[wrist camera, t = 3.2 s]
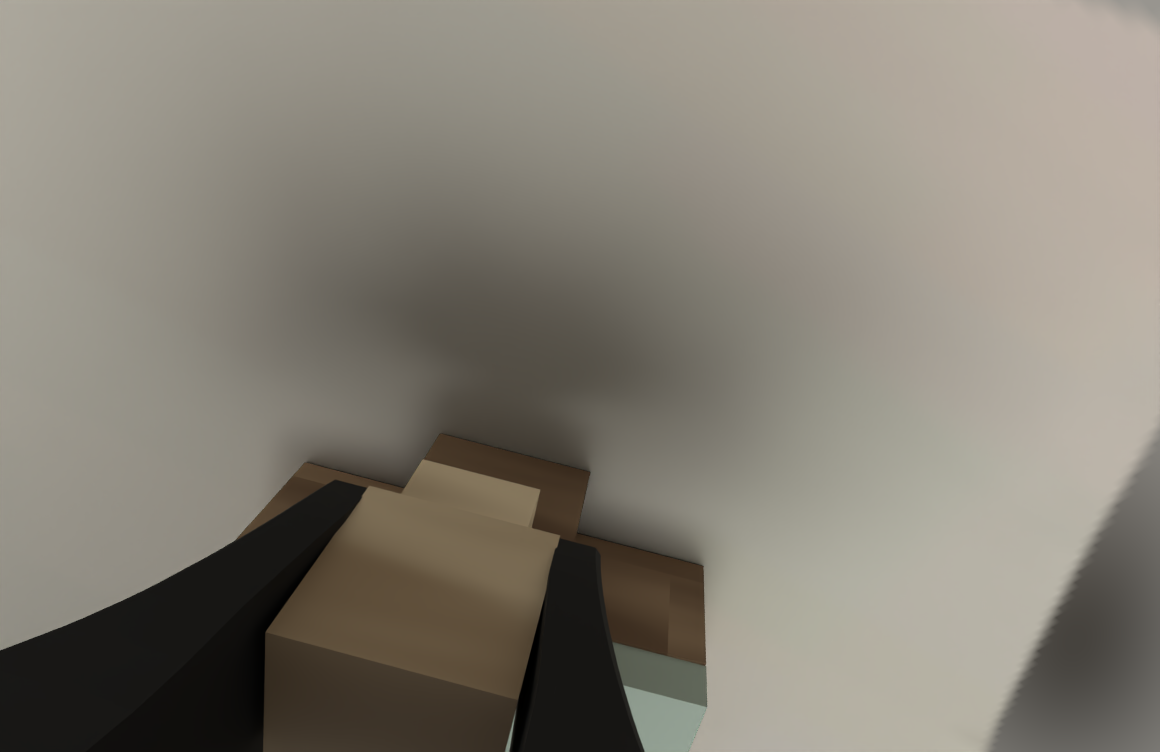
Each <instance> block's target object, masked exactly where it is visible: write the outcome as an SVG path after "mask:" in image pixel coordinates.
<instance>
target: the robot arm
mask: <svg viewBox="0 0 1160 752" xmlns="http://www.w3.org/2000/svg"><path fill="white" fill-rule="evenodd" d="M366 490H367V488H366V487H362V486H358V485H354V484H351V483H347V482H343V481H339V480H333V481H332V482H330V483H328V484H326V485H325V486H323V487H321V488H320V489H318V490H316V491H315V492H313V493H312V494H310V495H309V496H307V497H305V498H304V499H302V500H301V501H299V502H297V503H296V504H294V505H293V506H291V507H290V508H288V509H286V510H285V511H283V512H282V513H280V514H278V515H277V516H275V517H274V518H272V519H270V520H269V521H267V522H266V523H264V524H262V525H261V526H259V527H257V528H256V529H254V530H252V531H251V532H249V533H247V534H246V535H244V536H242V537H241V538H239V539H237V540H235V541H234V542H232V543H230V544H229V545H227V546H225V547H224V548H222V549H220V550H219V551H217V552H215V553H213V554H211V555H210V556H208V557H206V558H204V559H202V560H201V561H199V562H197V563H195V564H193V565H191V566H189V567H187V568H186V569H184V570H182V571H180V572H178V573H176V574H174V575H173V576H171V577H169V578H167V579H165V580H163V581H161V582H160V583H158V584H156V585H154V586H152V587H150V588H148V589H146V590H144V591H142V592H140V593H137V594H135V595H133V596H131V597H129V598H127V599H125V600H123V601H121V602H119V603H116V604H114V605H112V606H110V607H107V608H105V609H103V610H101V611H98V612H96V613H94V614H92V615H89V616H87V617H85V618H83V619H80V620H78V621H75V622H73V623H71V624H68V625H66V626H63V627H61V628H58V629H56V630H53V631H50V632H48V633H45V634H43V635H40V636H37V637H35V638H32V639H29V640H27V641H24V642H22V643H19V644H16V645H14V646H11V647H9V648H6V649H3V650H1V651H0V752H263V737H264V683H265V632H266V631H267V629H268V628H269V626H270V625H271V624H272V622H273V621H274V619H275V618H276V617H277V615H278V614H279V612H280V611H281V610H282V608H283V607H284V605H285V604H286V602H287V601H288V600H289V598H290V597H291V595H292V594H293V593H294V591H295V590H296V588H297V587H298V586H299V584H300V583H301V581H302V580H303V578H304V577H305V576H306V574H307V573H308V571H309V570H310V569H311V567H312V566H313V564H314V563H315V562H316V560H317V559H318V557H319V556H320V554H321V553H322V552H323V550H324V549H325V547H326V546H327V545H328V543H329V542H330V540H331V539H332V538H333V536H334V535H335V533H336V532H337V531H338V530H339V528H340V527H341V526H342V525H343V524H344V523H345V521H346V520H347V519H348V517H349V516H350V514H351V513H352V511H353V510H354V509H355V507H356V506H357V504H358V503H359V502H360V500H361V499H362V495H363V494H364V492H365V491H366ZM509 752H645V751H644V748H643V745H642V742H641V740H640V737H639V734H638V731H637V728H636V725H635V722H634V719H633V716H632V713H631V709H630V706H629V703H628V700H627V696H626V693H625V690H624V686H623V683H622V679H621V675H620V672H619V668H618V664H617V660H616V655H615V651H614V647H613V643H612V638H611V634H610V630H609V625H608V619H607V614H606V608H605V602H604V595H603V587H602V578H601V555H600V553H599V552H598V550H597V549H596V548H595V547H592V546H588V545H584V544H580V543H576V542H572V541H569V540H565V539H561V538H559V542H558V546H557V548H555V551H554V555H553V559H552V563H551V566H550V570H549V574H548V580H547V588H546V593H545V597H544V601H543V605H542V608H541V612H540V616H539V620H538V624H537V628H536V632H535V636H534V640H533V644H532V648H531V652H530V656H529V660H528V664H527V668H526V672H525V676H524V680H523V684H522V688H521V692H520V696H519V700H518V704H517V707H516V713H515V719H514V725H513V731H512V738H511V744H510V750H509Z"/></svg>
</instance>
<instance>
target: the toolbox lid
mask: <svg viewBox="0 0 1160 752" xmlns="http://www.w3.org/2000/svg"><path fill="white" fill-rule="evenodd" d="M612 643H613V647H614V651H615V655H616V660H617V664H618V668H619V672H620V675H621V679H622V683H623V686H624V690H625V693H626V696H627V700H628V703H629V706H630V709H631V713H632V716H633V719H634V722H635V725H636V728H637V731H638V734H639V737H640V740H641V742H642V745H643V748H644V751H645V752H689V750H690V747H691V745H692V743H693V740H694V738H695V735H696V733H697V731H698V728H699V726H700V723H701V721H702V719H703V716H704V714H705V711H706V709H707V682H706V666H703V665H699V664H696V663H692V662H688V661H684V660H680V659H676V658H672V657H669V656H665V655H661V654H657V653H653V652H649V651H645V650H642V649H638V648H634V647H630V646H626V645H622V644H619V643H615V642H612ZM515 713H516V711H515ZM514 719H515V715H514ZM514 719H513V723H512V727H511V731H510V735H509V739H508V742H507V746H506V750H505V752H509V750H510V744H511V738H512V731H513V725H514Z"/></svg>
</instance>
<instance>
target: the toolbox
mask: <svg viewBox="0 0 1160 752" xmlns="http://www.w3.org/2000/svg"><path fill="white" fill-rule="evenodd" d="M424 460H428V461H432V462H436V463H439V464H443V465H447V466H451V467H455V468H459V469H463V470H466V471H470V472H474V473H478V474H482V475H486V476H490V477H493V478H497V479H501V480H505V481H509V482H513V483H517V484H520V485H524V486H528V487H532V488H536V489H540V494H539V498H538V502H537V507H536V511H535V516H534V520H533V524H532V528H533V529H537V530H541V531H545V532H549V533H552V534H556V535H560V538H561V539H565V540H569V541H572V542H576V543H580V544H584V545H588V546H592V547H595V548H596V549H597V550H598V552H599V553H600V555H601V578H602V587H603V595H604V602H605V608H606V614H607V619H608V625H609V630H610V634H611V638H612V642H615V643H619V644H622V645H626V646H630V647H634V648H638V649H642V650H645V651H649V652H653V653H657V654H661V655H665V656H669V657H672V658H676V659H680V660H684V661H688V662H692V663H696V664H699V665H703V666H705V665H706V648H705V610H704V572H703V566H700V565H696V564H693V563H689V562H685V561H681V560H677V559H673V558H670V557H666V556H662V555H658V554H654V553H650V552H647V551H643V550H639V549H635V548H631V547H627V546H624V545H620V544H616V543H612V542H608V541H604V540H601V539H597V538H593V537H589V536H585V535H581V534H578V533H577V529H578V525H579V520H580V516H581V511H582V507H583V502H584V498H585V494H586V489H587V485H588V480H589V476H590V472H588V471H584V470H580V469H576V468H572V467H568V466H564V465H561V464H557V463H553V462H549V461H545V460H541V459H537V458H533V457H530V456H526V455H522V454H518V453H514V452H510V451H506V450H502V449H499V448H495V447H491V446H487V445H483V444H479V443H475V442H471V441H468V440H464V439H460V438H456V437H452V436H448V435H444V434H439V436H438V437H437V439H436V441H435V442H434V444H433V445H432V447H431V449H430V450H429V452H428V453H427V455H426V457H425V458H424ZM333 480H339V481H343V482H347V483H351V484H354V485H358V486H362V487H366V488H368V487H369V486H372V487H376V488H380V489H384V490H388V491H392V492H395V493H399V494H401V493H402V491H403V490H404V488H401V487H397V486H394V485H390V484H386V483H382V482H378V481H374V480H371V479H367V478H363V477H359V476H355V475H351V474H348V473H344V472H340V471H336V470H332V469H328V468H325V467H321V466H317V465H313V464H309V463H304V464H303V465H302V466H301V468H300V469H299V470H298V471H297V472H296V473H295V474H294V475H293V476H292V478H291V479H290V480H289V481H288V482H287V483H286V484H285V485H284V486H283V488H282V489H281V490H280V491H279V492H278V493H277V494H276V495H275V497H274V498H273V499H272V500H271V501H270V502H269V503H268V504H267V505H266V507H265V508H264V509H263V510H262V511H261V512H260V513H259V514H258V515H257V517H256V518H255V519H254V520H253V521H252V522H251V523H250V524H249V526H248V527H247V528H246V529H245V530H244V531H243V532H242V533H241V534H240V536H239V537H238V538H237V539H239V538H241V537H242V536H244V535H246V534H247V533H249V532H251V531H252V530H254V529H256V528H257V527H259V526H261V525H262V524H264V523H266V522H267V521H269V520H270V519H272V518H274V517H275V516H277V515H278V514H280V513H282V512H283V511H285V510H286V509H288V508H290V507H291V506H293V505H294V504H296V503H297V502H299V501H301V500H302V499H304V498H305V497H307V496H309V495H310V494H312V493H313V492H315V491H316V490H318V489H320V488H321V487H323V486H325V485H326V484H328V483H330V482H332V481H333ZM237 539H236V540H237Z"/></svg>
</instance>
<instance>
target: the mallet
mask: <svg viewBox="0 0 1160 752" xmlns="http://www.w3.org/2000/svg"><path fill="white" fill-rule="evenodd" d="M539 494H540V489H536V488H532V487H528V486H524V485H520V484H517V483H513V482H509V481H505V480H501V479H497V478H493V477H490V476H486V475H482V474H478V473H474V472H470V471H466V470H463V469H459V468H455V467H451V466H447V465H443V464H439V463H436V462H432V461H428V460H424V459H422V461H421V463H420V464H419V466H418V467H417V469H416V471H415V472H414V474H413V475H412V477H411V479H410V480H409V482H408V483H407V485H406V487H405V488H404V490H403V491H402V493H401V494H399V493H395V492H392V491H388V490H384V489H380V488H376V487H372V486H369V487H368V488H367V490H366V491H365V492H364V494H363V495H362V499H361V500H360V502H359V503H358V504H357V506H356V507H355V509H354V510H353V511H352V513H351V514H350V516H349V517H348V519H347V520H346V521H345V523H344V524H343V525H342V526H341V527H340V528H339V530H338V531H337V532H336V533H335V535H334V536H333V538H332V539H331V540H330V542H329V543H328V545H327V546H326V547H325V549H324V550H323V552H322V553H321V554H320V556H319V557H318V559H317V560H316V562H315V563H314V564H313V566H312V567H311V569H310V570H309V571H308V573H307V574H306V576H305V577H304V578H303V580H302V581H301V583H300V584H299V586H298V587H297V588H296V590H295V591H294V593H293V594H292V595H291V597H290V598H289V600H288V601H287V602H286V604H285V605H284V607H283V608H282V610H281V611H280V612H279V614H278V615H277V617H276V618H275V619H274V621H273V622H272V624H271V625H270V626H269V628H268V629H267V631H266V632H265V683H264V737H263V752H505V750H506V746H507V742H508V739H509V735H510V731H511V727H512V723H513V719H514V715H515V711H516V707H517V704H518V700H519V696H520V692H521V688H522V684H523V680H524V676H525V672H526V668H527V664H528V660H529V656H530V652H531V648H532V644H533V640H534V636H535V632H536V628H537V624H538V620H539V616H540V612H541V608H542V605H543V601H544V597H545V593H546V588H547V580H548V574H549V570H550V566H551V563H552V559H553V555H554V551H555V548H557V546H558V542H559V538H560V535H556V534H552V533H549V532H545V531H541V530H537V529H533V528H532V524H533V520H534V516H535V511H536V507H537V502H538V498H539Z"/></svg>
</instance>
